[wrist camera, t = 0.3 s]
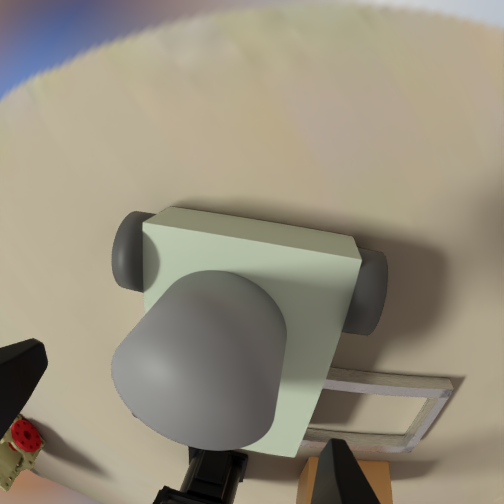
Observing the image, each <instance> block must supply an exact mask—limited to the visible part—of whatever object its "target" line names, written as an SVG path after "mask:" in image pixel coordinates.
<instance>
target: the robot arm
mask: <svg viewBox="0 0 504 504" xmlns="http://www.w3.org/2000/svg"><path fill="white" fill-rule="evenodd" d="M47 366H48V359H47V355H46V351H45V347H44V344H43V343H42V342H40V341H38V340H37V339H34V338H32V339H28V340H25V341H22V342H18V343H15V344H12V345H8V346H5V347H2V348H0V441H1V439H2V438H3V436H4V435H5V433H6V432H7V430H8V429H9V427H10V426H11V424H12V423H13V422H14V420H15V419H16V417H17V416H18V414H19V413H20V411H21V410H22V409H23V407H24V406H25V404H26V403H27V401H28V400H29V398H30V396H31V394H32V393H33V391H34V389H35V387H36V386H37V384H38V382H39V380H40V379H41V377H42V375H43V374H44V372H45V370H46V368H47ZM188 447H189V468H188V470H187V473H186V476H185V478H184V481H183V483H182V486H181V488H180V491H178V490H174V489H171V488H170V487H168V486H164V487H163V489H162V490H159V492H158V494H157V497H156V499H155V500H154V502H153V504H233V502H234V498H235V495H236V491H237V487H238V483H239V482H243V478H244V474H245V470H246V466H247V461H248V456H247V455H245V454H241V453H236V452H231V451H227V450H224V451H215V450H205V449H199V448H194V447H190V446H188ZM311 504H381V503H380V501H379V499H378V498H377V496H376V494H375V492H374V490H373V489H372V487H371V485H370V483H369V482H368V480H367V478H366V476H365V474H364V473H363V471H362V469H361V467H360V465H359V464H358V462H357V460H356V458H355V457H354V455H353V453H352V451H351V449H350V448H349V446H348V444H347V442H346V441H345V440H344V439H338V438H331V439H329V441H328V442H327V444H326V445H325V447H324V448H323V450H322V451H321V453H320V455H319V459H318V465H317V470H316V476H315V482H314V487H313V492H312V498H311Z"/></svg>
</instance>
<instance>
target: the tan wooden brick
mask: <svg viewBox="0 0 504 504" xmlns="http://www.w3.org/2000/svg"><path fill="white" fill-rule="evenodd" d="M318 459H319V457H309V459H308V461H307V463H306V465H305V467H304V469H303V471H302V473H301V475H300V476H299V482H298V491H297V499H296V504H311V498H312V492H313V487H314V482H315V476H316V470H317V465H318ZM357 462H358V464H359V465H360V467H361V469H362V471H363V473H364V474H365V476H366V478H367V480H368V482H369V483H370V485H371V487H372V489H373V490H374V492H375V494H376V496H377V498H378V499H379V501H380V503H381V504H393V500H392V490H391V480H390V471H389V462H388V461H359V460H357Z"/></svg>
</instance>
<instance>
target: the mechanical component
mask: <svg viewBox="0 0 504 504" xmlns="http://www.w3.org/2000/svg"><path fill="white" fill-rule="evenodd" d="M21 418H22V417H21V416H20V415H19V414H18V416H17V417H16V419H15V420H14V422H13V425H12V427H11V429H10V428H9V429H8V430H7V432H6V433H5V435H4V436H3V438H2V439H1V441H0V488H1V489H2V490H4V491H5V492H7V491H8V490H9V489H10V487H11V485H12V483H13V482H14V480H15V478H16V477H17V476H18V475H19V473H20V471H22V470H25V469H28V470H29V469H31V468H33V466H34V464H35V462H34V460H35V459H36V457H37V456H38V454H39V451H40V450H41V449H42V448H43V447H44V446H45V444H46V442H45V441H44V440H43V439H42V438H41V437H40V434H39V433H38V431H37V429H36V428H35V427H34V426H33V425H32V424H31V423H29V422H28V421H26V420H21ZM22 456H23V458H22ZM17 464H18V465H19V466H17ZM8 478H10V479H11V481H10V480H9V479H8Z"/></svg>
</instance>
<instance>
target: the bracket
mask: <svg viewBox="0 0 504 504" xmlns="http://www.w3.org/2000/svg"><path fill="white" fill-rule="evenodd" d="M323 389H331V390H339V391H348V392H357V393H367V394H378V395H391V396H407V397H428V399H427V401H426V402H425V404H424V405H423V407H422V409H421V410H420V412H419V413H418V415H417V417H416V418H415V420H414V421H413V423H412V424H411V426H410V427H409V429H408V430H407V432H406V433H405V434H404V435H376V434H359V433H346V432H335V431H326V430H317V429H309V428H307V429H306V432H305V434H304V437H303V439H302V441H301V444H300V446H306V447H315V448H324V447H325V445H326V444H327V442H328V441H329V439H331V438H338V439H344V440H345V441H346V442H347V444H348V446H349V448H350V449H351V451H365V452H411V451H412V449H413V448H414V447H415V446H416V444H417V443H418V442H419V440H420V439H421V438H422V436H423V435H424V433H425V432H426V431H427V429H428V428H429V426H430V425H431V424H432V422H433V421H434V419H435V418H436V416H437V415H438V413H439V412H440V410H441V409H442V407H443V406H444V404H445V403H446V401H447V400H448V398H449V396H450V395H451V393H452V392H453V390H454V389H453V386H452V384H451V382H450V379H449V378H436V377H420V376H406V375H395V374H384V373H374V372H365V371H357V370H348V369H341V368H333V367H330V368H329V371H328V374H327V377H326V380H325V382H324V385H323Z"/></svg>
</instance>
